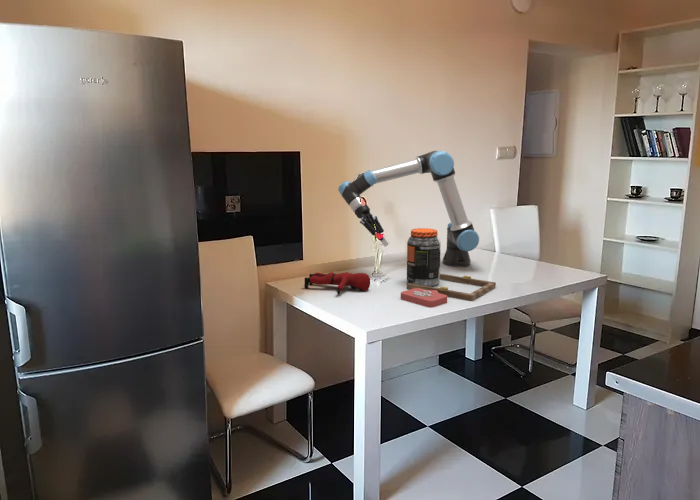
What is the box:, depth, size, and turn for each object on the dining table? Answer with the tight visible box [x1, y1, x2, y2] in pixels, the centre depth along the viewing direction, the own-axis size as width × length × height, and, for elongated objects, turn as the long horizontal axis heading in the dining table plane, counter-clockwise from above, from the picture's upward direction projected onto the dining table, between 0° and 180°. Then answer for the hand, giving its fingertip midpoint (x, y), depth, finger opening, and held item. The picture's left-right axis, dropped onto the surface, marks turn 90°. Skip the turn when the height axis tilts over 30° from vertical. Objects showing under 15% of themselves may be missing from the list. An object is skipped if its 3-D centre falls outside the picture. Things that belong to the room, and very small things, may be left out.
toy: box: [303, 271, 371, 296], centre depth 249 cm, size 28×8×30 cm
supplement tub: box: [406, 227, 442, 287], centre depth 257 cm, size 16×16×26 cm
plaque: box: [400, 288, 448, 308], centre depth 233 cm, size 18×4×15 cm
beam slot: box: [406, 273, 497, 302], centre depth 251 cm, size 28×32×4 cm
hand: (387, 244), depth 266 cm, fingers closed
